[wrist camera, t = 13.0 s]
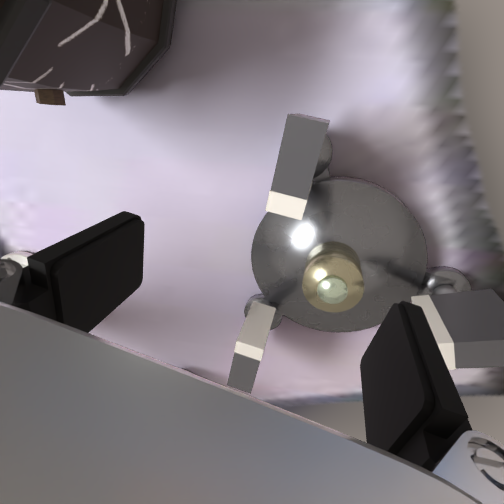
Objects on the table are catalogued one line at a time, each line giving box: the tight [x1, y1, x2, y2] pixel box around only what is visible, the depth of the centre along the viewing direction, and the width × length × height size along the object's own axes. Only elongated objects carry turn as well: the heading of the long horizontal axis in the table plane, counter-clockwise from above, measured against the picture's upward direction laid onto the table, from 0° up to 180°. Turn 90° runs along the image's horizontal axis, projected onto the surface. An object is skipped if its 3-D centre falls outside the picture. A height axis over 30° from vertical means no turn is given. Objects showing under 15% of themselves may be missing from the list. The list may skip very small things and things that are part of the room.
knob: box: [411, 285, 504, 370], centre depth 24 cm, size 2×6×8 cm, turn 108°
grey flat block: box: [227, 301, 276, 394], centre depth 30 cm, size 2×6×8 cm, turn 169°
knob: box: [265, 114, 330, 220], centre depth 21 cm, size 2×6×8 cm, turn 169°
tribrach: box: [244, 135, 471, 332], centre depth 26 cm, size 21×23×7 cm
